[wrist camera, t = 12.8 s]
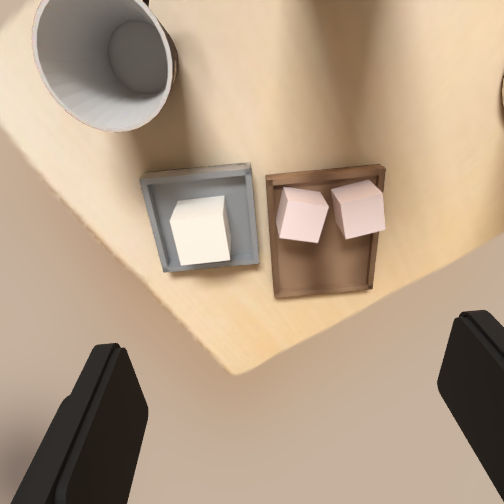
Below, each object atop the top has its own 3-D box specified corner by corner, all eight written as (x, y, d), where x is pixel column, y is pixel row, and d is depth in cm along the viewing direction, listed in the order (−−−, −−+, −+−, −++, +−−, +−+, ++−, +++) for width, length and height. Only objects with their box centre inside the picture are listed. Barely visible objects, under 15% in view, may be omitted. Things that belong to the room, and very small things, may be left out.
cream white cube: (224, 195, 36) (222, 214, 32) (231, 236, 39) (230, 260, 35) (177, 200, 36) (169, 220, 32) (187, 241, 39) (180, 265, 35)
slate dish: (250, 162, 35) (250, 168, 34) (258, 253, 41) (259, 263, 39) (144, 172, 36) (139, 179, 34) (166, 262, 41) (163, 272, 39)
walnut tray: (379, 164, 36) (385, 168, 35) (367, 281, 44) (372, 288, 42) (265, 175, 36) (266, 180, 35) (273, 289, 44) (274, 297, 42)
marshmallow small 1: (368, 179, 36) (382, 193, 32) (372, 213, 38) (385, 229, 34) (330, 189, 36) (340, 203, 33) (335, 222, 38) (345, 239, 35)
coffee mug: (147, 130, 34) (116, 157, 25) (71, 53, 30) (4, 54, 21) (235, 38, 30) (234, 33, 21) (160, -61, 27) (122, -116, 18)
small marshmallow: (320, 191, 36) (328, 206, 33) (310, 225, 38) (317, 243, 35) (283, 186, 36) (287, 200, 32) (275, 220, 38) (279, 237, 34)
